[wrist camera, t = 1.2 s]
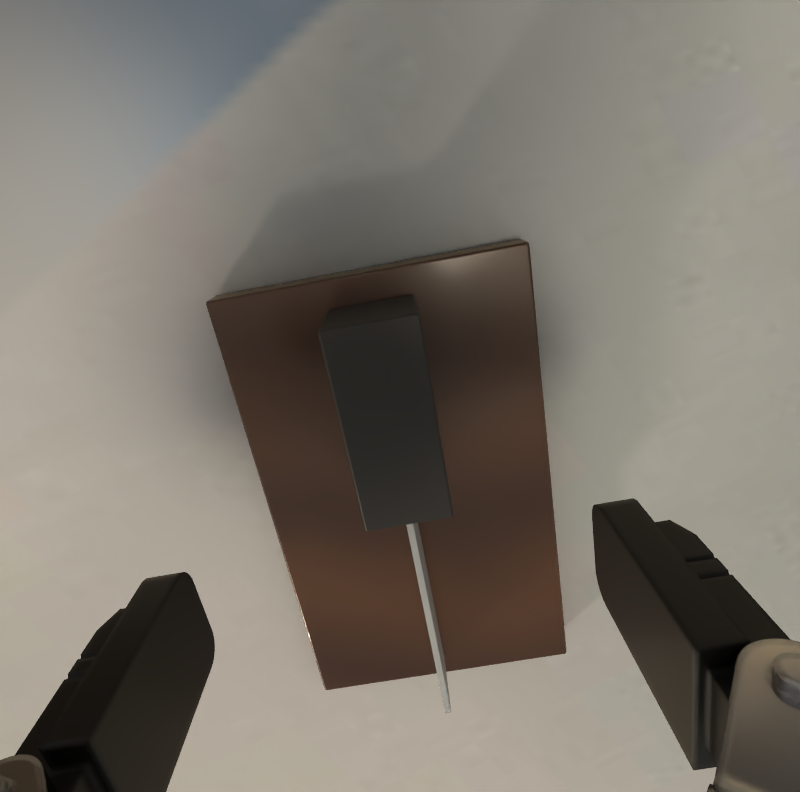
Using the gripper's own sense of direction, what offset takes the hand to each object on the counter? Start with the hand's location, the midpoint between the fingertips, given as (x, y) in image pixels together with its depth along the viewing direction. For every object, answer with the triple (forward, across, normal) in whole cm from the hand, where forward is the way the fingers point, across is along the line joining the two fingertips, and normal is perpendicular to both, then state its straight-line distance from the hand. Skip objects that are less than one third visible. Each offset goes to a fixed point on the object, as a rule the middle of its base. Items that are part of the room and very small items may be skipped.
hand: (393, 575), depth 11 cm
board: (+11, 0, +4) cm, 12 cm away
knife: (+10, 0, +4) cm, 11 cm away
